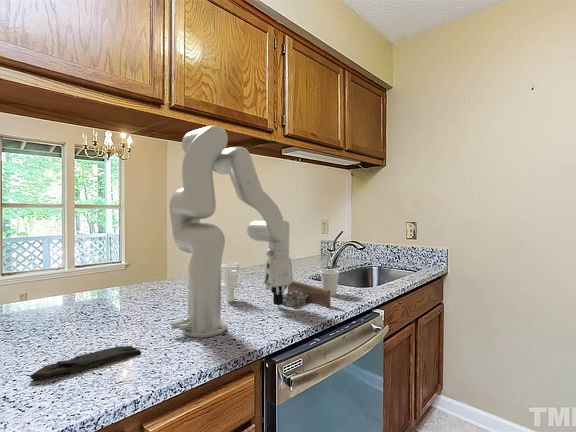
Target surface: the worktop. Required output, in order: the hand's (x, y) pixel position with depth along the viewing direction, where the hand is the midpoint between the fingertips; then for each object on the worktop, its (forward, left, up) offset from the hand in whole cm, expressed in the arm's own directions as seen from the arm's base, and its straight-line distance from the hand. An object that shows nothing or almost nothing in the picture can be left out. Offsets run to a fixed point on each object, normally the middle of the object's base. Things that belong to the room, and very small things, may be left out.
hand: (277, 304), depth 119 cm
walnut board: (+15, 0, -1) cm, 15 cm away
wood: (-61, -5, -2) cm, 61 cm away
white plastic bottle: (-9, +19, -2) cm, 21 cm away
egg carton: (+9, +2, -2) cm, 9 cm away
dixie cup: (+29, +1, -2) cm, 29 cm away
